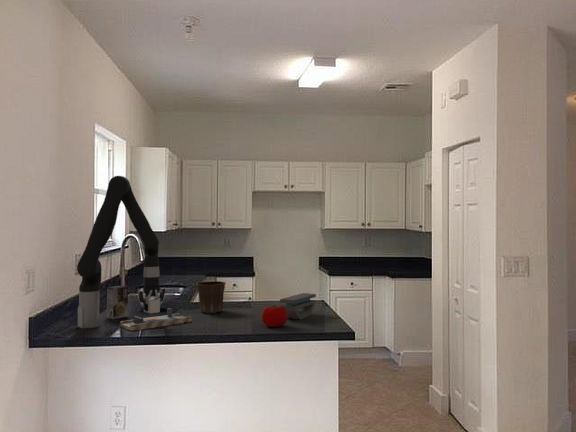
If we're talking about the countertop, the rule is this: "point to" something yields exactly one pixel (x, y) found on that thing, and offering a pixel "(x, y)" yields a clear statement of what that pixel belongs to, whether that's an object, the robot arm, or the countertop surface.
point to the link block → (153, 306)
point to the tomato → (274, 316)
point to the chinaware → (150, 298)
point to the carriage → (160, 317)
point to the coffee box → (117, 302)
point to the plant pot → (211, 296)
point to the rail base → (139, 324)
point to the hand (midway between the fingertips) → (151, 310)
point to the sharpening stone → (299, 305)
